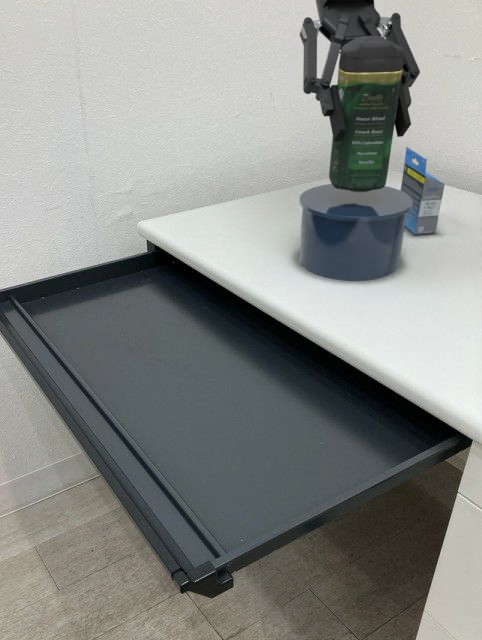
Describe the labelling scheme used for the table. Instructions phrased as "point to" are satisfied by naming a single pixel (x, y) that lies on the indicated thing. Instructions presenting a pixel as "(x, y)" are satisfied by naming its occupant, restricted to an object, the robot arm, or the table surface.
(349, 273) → the pot
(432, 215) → the tape cartridge
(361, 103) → the coffee jar
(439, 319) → the table surface
